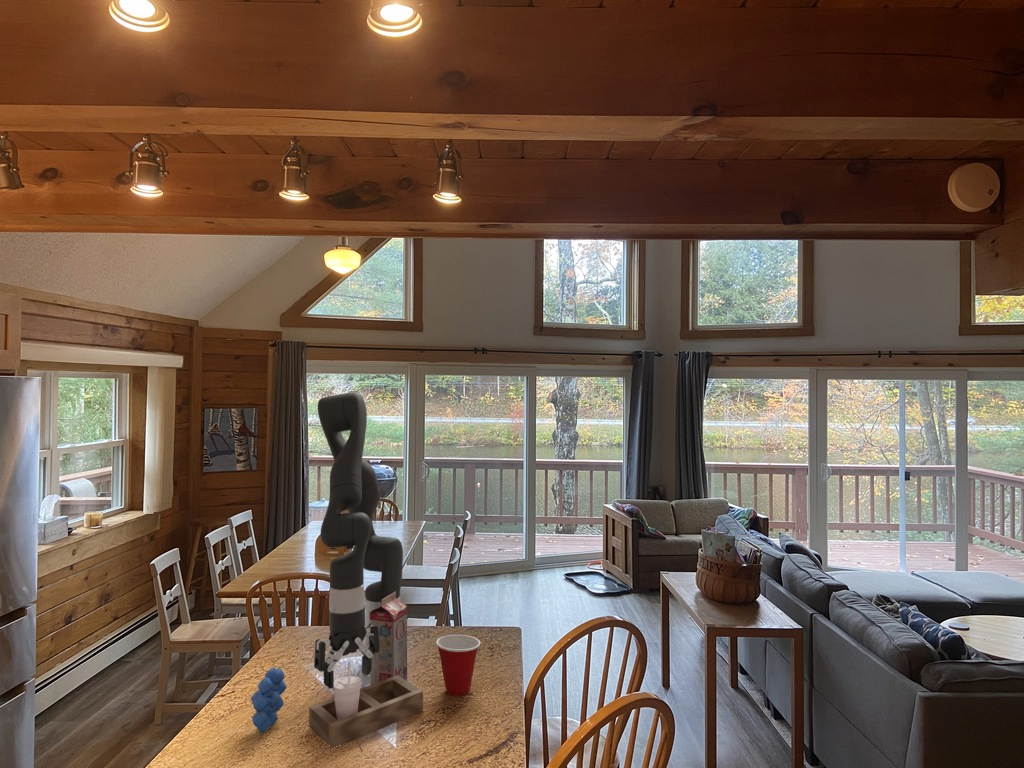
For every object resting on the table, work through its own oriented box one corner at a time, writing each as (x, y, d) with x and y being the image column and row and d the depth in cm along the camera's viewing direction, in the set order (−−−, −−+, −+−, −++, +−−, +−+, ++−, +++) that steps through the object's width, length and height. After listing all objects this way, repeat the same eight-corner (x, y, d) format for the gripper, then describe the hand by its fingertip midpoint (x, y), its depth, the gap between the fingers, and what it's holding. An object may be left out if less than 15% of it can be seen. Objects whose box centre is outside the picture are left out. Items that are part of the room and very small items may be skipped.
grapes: (264, 711, 141) (264, 658, 142) (293, 713, 141) (292, 659, 141) (236, 740, 130) (236, 682, 130) (266, 741, 129) (266, 683, 129)
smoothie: (354, 736, 131) (354, 669, 131) (326, 733, 132) (325, 667, 132) (367, 720, 137) (367, 657, 137) (340, 718, 138) (340, 654, 138)
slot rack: (397, 693, 149) (397, 675, 149) (423, 711, 141) (423, 691, 141) (309, 727, 134) (309, 706, 134) (332, 749, 126) (332, 726, 126)
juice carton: (407, 680, 156) (406, 592, 156) (393, 693, 150) (393, 601, 150) (384, 677, 158) (383, 590, 158) (370, 688, 152) (369, 598, 152)
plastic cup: (490, 689, 151) (489, 639, 151) (457, 705, 143) (456, 653, 143) (460, 675, 158) (459, 628, 159) (427, 690, 151) (426, 641, 151)
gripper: (367, 593, 142) (368, 664, 142) (308, 609, 133) (309, 685, 132) (385, 601, 137) (386, 675, 137) (324, 618, 127) (325, 698, 127)
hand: (348, 680), depth 134 cm, fingers open, 8 cm apart
